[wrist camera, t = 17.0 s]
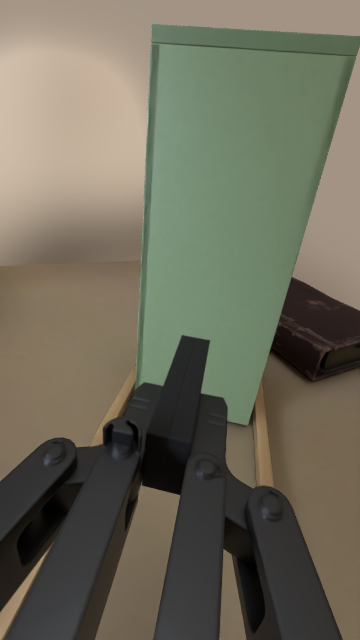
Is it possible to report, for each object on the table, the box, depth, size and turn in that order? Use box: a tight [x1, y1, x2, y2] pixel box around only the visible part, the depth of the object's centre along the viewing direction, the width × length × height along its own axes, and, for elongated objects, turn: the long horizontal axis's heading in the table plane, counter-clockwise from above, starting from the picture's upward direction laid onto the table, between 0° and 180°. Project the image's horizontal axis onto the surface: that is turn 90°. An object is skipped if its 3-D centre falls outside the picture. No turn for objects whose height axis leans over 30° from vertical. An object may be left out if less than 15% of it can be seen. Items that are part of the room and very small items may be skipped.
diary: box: [271, 277, 360, 381], centre depth 47 cm, size 19×25×5 cm
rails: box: [0, 362, 274, 640], centre depth 24 cm, size 14×30×1 cm, turn 169°
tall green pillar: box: [135, 24, 360, 426], centre depth 26 cm, size 11×11×28 cm
